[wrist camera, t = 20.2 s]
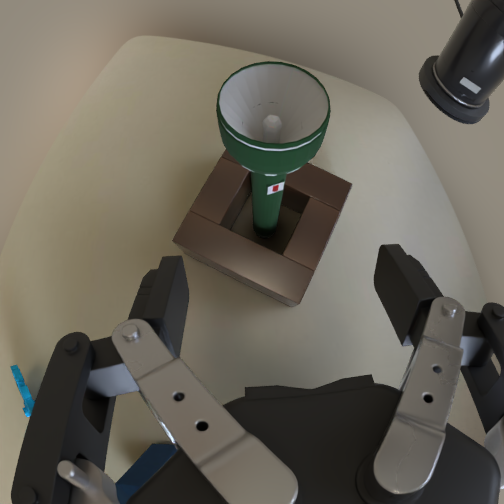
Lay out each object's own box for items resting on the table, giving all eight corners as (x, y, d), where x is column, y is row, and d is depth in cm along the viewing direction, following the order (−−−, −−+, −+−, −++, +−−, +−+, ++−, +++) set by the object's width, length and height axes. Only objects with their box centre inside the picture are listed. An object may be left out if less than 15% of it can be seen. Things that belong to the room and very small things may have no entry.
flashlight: (249, 261, 32) (237, 163, 12) (231, 214, 33) (201, 76, 13) (297, 243, 32) (353, 129, 12) (278, 197, 33) (302, 51, 13)
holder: (238, 157, 34) (236, 132, 29) (340, 203, 33) (352, 183, 28) (184, 253, 32) (171, 240, 27) (292, 307, 31) (299, 304, 26)
